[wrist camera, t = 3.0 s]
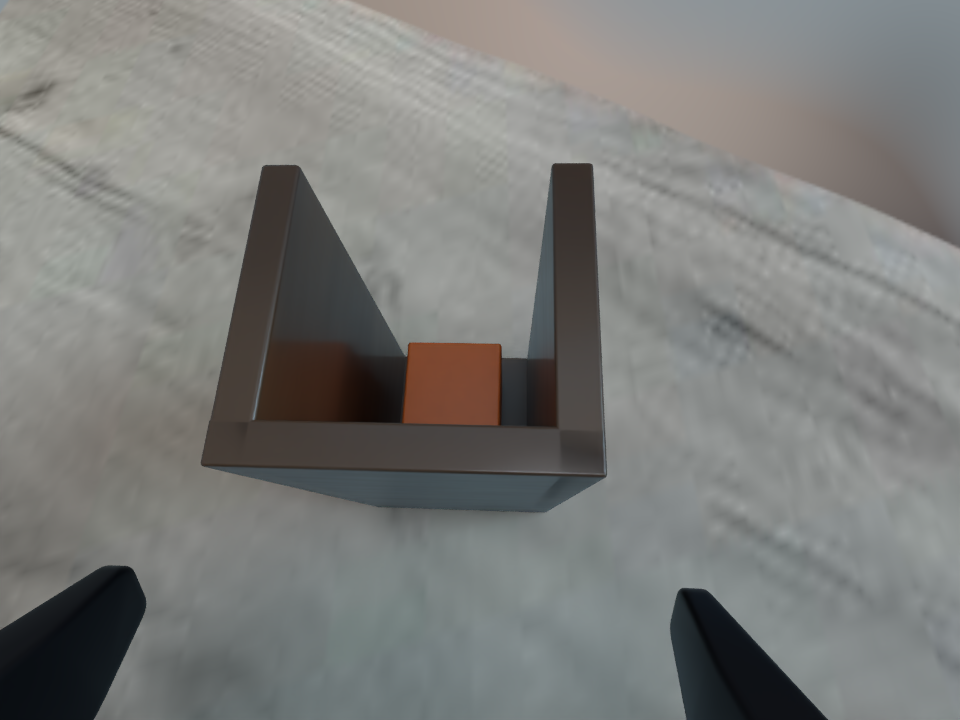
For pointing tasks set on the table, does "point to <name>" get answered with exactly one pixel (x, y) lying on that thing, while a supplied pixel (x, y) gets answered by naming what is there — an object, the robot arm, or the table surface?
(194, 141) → the table surface
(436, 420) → the block
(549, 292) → the scoop
